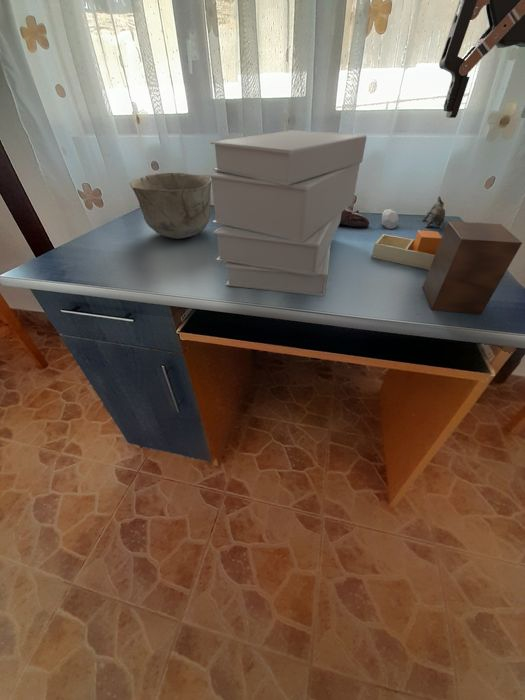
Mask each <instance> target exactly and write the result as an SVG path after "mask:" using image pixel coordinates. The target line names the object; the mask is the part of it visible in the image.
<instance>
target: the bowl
mask: <svg viewBox="0 0 525 700" xmlns="http://www.w3.org/2000/svg"><path fill="white" fill-rule="evenodd" d="M129 186H130V188H131V189H132V191H133V193H134V195H135V197H136V199H137V201H138V204H139V206H138V207H139V208H140V210H141V213H142V216H143V219H144V222H145V223H146V224H147V226H148V227H149V228H150V229H152V230H153V231H154V232H155V233H156V234H158V235H160V236H164V237H166V238H170V239H174V240H175V239H177V240H181V239H185V238H190V237H193V236H196V235H198V234H199V233H201V232H203V231H204V230H205V229H206V227H207V226H208V224H209V221H210V219H211V192H212V191H211V189H212V180H211V177H207V174H197V173H196V174H195V173H188V172H187V173H186V172H163V173H154V174H146V175H145V177H140V178H137V179H136V178H135V179H132V180H131V181H129Z"/></svg>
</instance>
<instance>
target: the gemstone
mask: <svg viewBox="0 0 525 700" xmlns="http://www.w3.org/2000/svg"><path fill="white" fill-rule="evenodd" d="M399 219H400V217H399V215H398V213H397V212H396V211H395V210H394V209H393V208H387V209H385V210H384V211H383V212H382V213H381V225H383V226H384V227H385V228H387V229H390V230H393V229H395V228H396V227H397V226H398V225H399V221H400V220H399Z"/></svg>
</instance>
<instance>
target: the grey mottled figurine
mask: <svg viewBox="0 0 525 700" xmlns="http://www.w3.org/2000/svg"><path fill="white" fill-rule="evenodd" d="M429 216H430V218H429ZM445 217H446V210H445V208H444V201H443V200H442V198H441V196H438V197H437V202H436V203H434V204H433V206H432V207H431V208H430V210H429V211H428V212H427V213H426V214H425V216H424V217H423V218H422V219H421V222H425V221H426V220H427V219H428V218H429V220H428V221H427V223H426V224H425V225H424V228H429V226H430V225H432V224H433V223H434V222H435V223H437V224H438V225H439V229H441V230H444V229H445V228H444V227H445Z"/></svg>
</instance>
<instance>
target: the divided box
mask: <svg viewBox="0 0 525 700" xmlns="http://www.w3.org/2000/svg"><path fill="white" fill-rule="evenodd" d="M414 241H415V239H413V238H407V237H402V236H396V235H391V234H386V233H383V234H382V235H381V236H380V237H379V238H378V239H377V240H376V242H374V245H373V249H372V253H371V258H374V259H378V260H382V261H387V262H391V263H396V264H400V265H405V266H410V267H414V268H419V269H423V270H427V271H429V269H430V266H431V264H432V261H433V259H434V256H435V255H433V254H428V253H423V252H418V251H413V250H412V247H413V244H414Z"/></svg>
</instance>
